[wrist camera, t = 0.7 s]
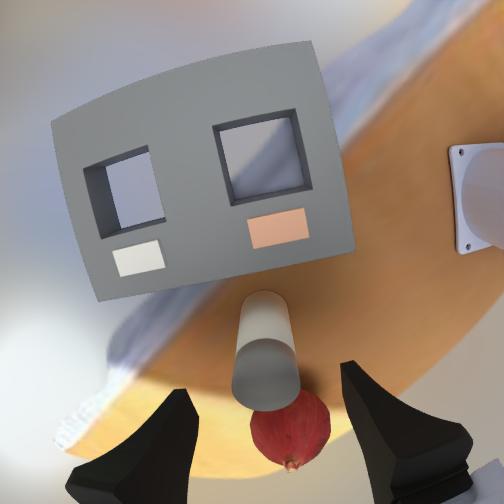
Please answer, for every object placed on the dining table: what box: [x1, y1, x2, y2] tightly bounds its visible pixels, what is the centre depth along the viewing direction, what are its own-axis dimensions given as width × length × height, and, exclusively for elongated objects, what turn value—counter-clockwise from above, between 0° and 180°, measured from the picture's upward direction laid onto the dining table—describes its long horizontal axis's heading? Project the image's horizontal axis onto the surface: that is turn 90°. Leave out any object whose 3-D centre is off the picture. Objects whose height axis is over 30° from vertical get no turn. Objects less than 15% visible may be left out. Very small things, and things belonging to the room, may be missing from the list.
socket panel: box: [51, 41, 356, 302], centre depth 17 cm, size 16×12×3 cm
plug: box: [232, 290, 301, 411], centre depth 17 cm, size 3×3×8 cm
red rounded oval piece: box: [250, 389, 331, 473], centre depth 19 cm, size 6×6×8 cm
